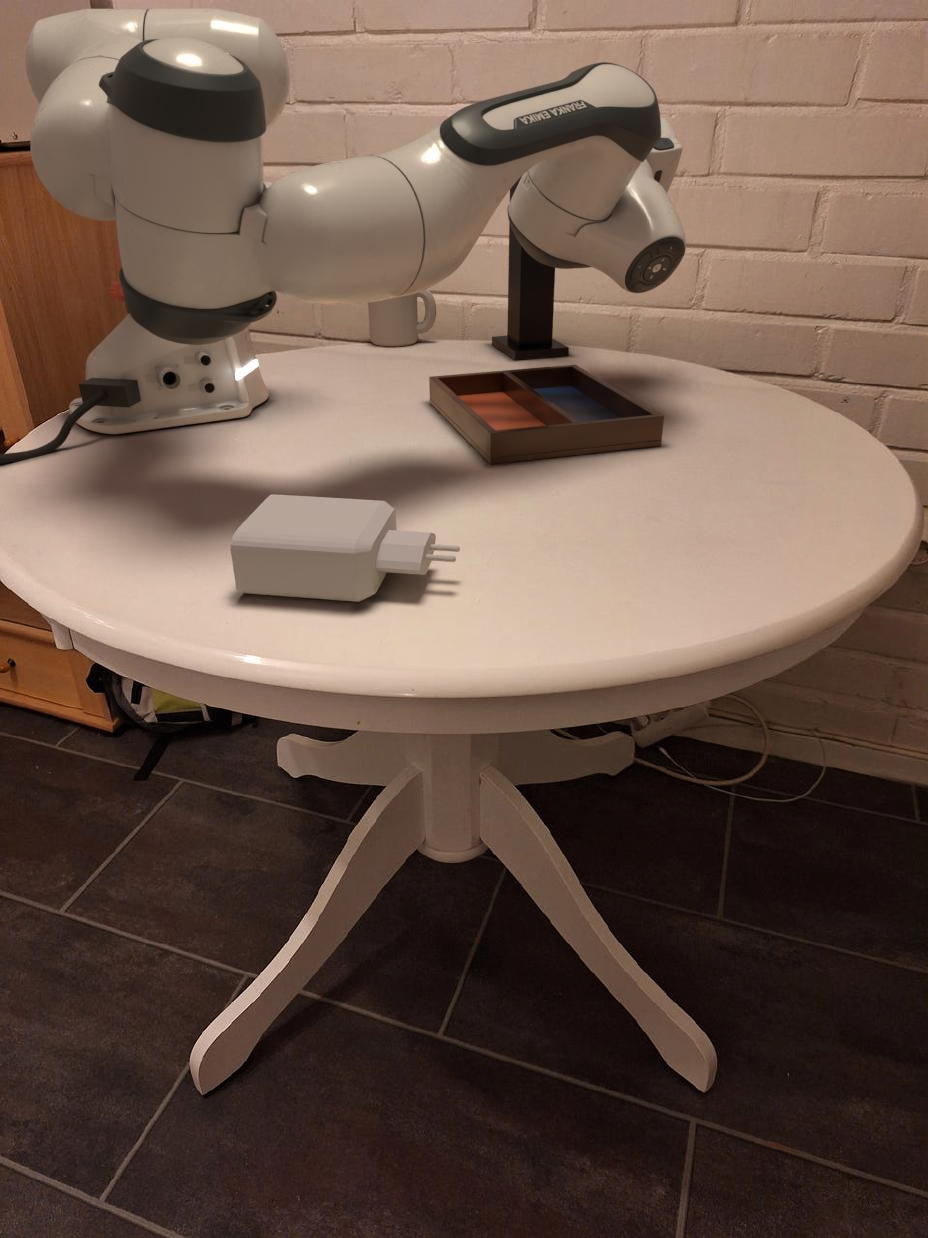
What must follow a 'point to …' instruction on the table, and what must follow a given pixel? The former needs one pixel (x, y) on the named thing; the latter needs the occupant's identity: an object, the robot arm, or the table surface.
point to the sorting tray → (543, 413)
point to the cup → (400, 319)
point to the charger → (326, 548)
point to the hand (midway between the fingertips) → (566, 103)
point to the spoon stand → (529, 306)
